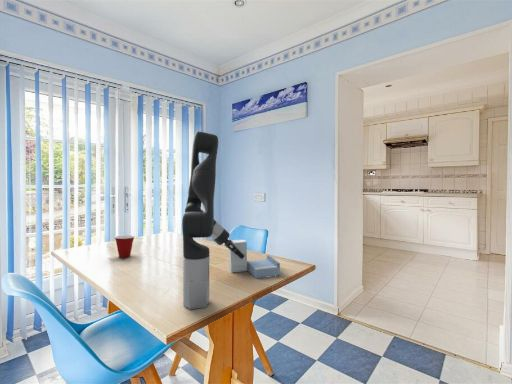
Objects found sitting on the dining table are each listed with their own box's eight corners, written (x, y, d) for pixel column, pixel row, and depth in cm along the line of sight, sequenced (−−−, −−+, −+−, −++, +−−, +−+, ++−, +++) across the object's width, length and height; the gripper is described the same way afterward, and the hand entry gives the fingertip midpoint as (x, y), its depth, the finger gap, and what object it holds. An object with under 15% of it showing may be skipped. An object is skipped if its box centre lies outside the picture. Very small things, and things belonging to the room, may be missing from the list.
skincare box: (244, 267, 136) (245, 239, 135) (247, 271, 130) (247, 241, 129) (228, 269, 134) (228, 239, 133) (230, 273, 128) (230, 242, 127)
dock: (279, 275, 125) (279, 263, 125) (255, 278, 121) (255, 265, 121) (269, 266, 138) (269, 255, 138) (246, 268, 134) (246, 257, 134)
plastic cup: (138, 254, 159) (138, 234, 158) (128, 259, 148) (128, 238, 148) (121, 253, 160) (121, 233, 160) (110, 258, 149) (109, 237, 149)
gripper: (226, 230, 122) (250, 253, 126) (220, 225, 135) (242, 246, 140) (214, 242, 120) (239, 265, 125) (210, 236, 134) (232, 257, 138)
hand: (241, 255), depth 132 cm, fingers closed on skincare box, 6 cm apart
